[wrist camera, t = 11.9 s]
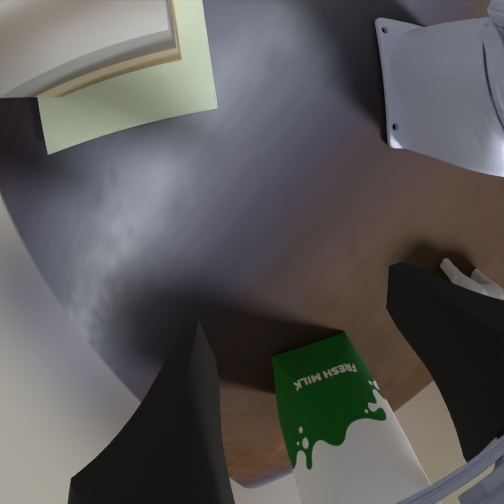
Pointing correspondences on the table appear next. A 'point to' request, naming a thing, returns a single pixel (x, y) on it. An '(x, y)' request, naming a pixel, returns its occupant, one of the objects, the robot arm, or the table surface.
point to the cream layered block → (81, 43)
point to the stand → (137, 91)
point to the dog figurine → (472, 280)
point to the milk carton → (341, 428)
